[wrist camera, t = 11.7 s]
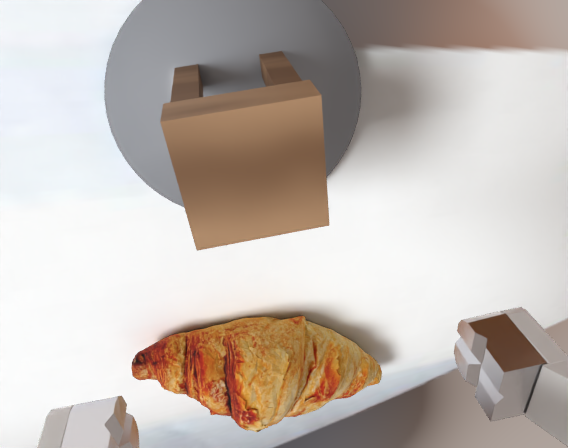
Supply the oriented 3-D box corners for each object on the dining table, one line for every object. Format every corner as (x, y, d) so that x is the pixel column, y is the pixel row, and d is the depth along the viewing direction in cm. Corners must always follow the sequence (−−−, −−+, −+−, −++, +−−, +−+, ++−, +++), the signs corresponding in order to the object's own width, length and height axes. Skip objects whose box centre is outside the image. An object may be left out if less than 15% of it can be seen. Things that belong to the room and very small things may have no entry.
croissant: (372, 307, 42) (422, 336, 34) (355, 408, 43) (400, 459, 35) (140, 289, 36) (138, 321, 28) (124, 409, 36) (118, 471, 29)
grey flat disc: (357, 187, 30) (361, 195, 29) (149, 225, 29) (148, 234, 28) (353, -56, 22) (359, -55, 21) (65, -16, 21) (59, -13, 20)
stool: (295, 150, 26) (329, 225, 20) (195, 168, 26) (196, 250, 19) (284, 46, 23) (321, 94, 16) (169, 64, 23) (160, 121, 16)
